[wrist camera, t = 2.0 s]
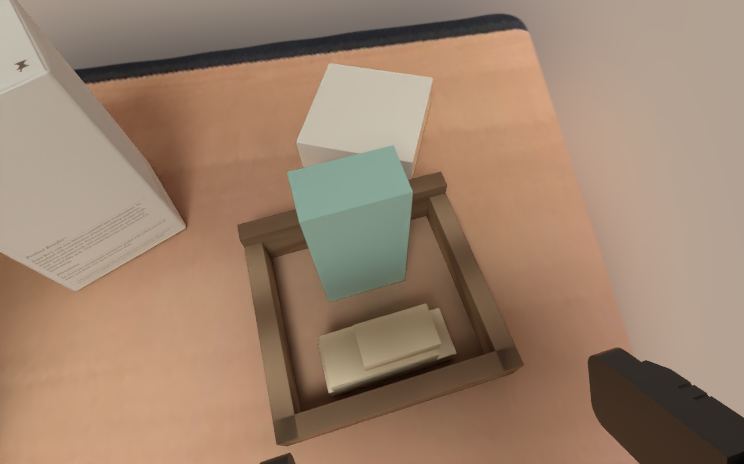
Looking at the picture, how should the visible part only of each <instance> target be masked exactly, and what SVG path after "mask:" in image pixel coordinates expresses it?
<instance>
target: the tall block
mask: <svg viewBox="0 0 744 464" xmlns="http://www.w3.org/2000/svg"><path fill="white" fill-rule="evenodd" d="M287 174H288V178H289V182H290V187H291V191H292V195H293V199H294V203H295V207H296V211H297V215H298V220H299V223H300V226H301V229H302V231H303V234H304V237H305V239H306V242H307V245H308V248H309V250H310V253H311V256H312V258H313V261H314V264H315V267H316V269H317V272H318V275H319V277H320V280H321V283H322V286H323V288H324V291H325V294H326V296H327V299H328V302H331V301H335V300H338V299H342V298H345V297H349V296H352V295H355V294H359V293H362V292H366V291H369V290H373V289H376V288H380V287H383V286H387V285H390V284H394V283H397V282H400V281H404V280H405V271H406V261H407V250H408V239H409V228H410V218H411V207H412V196H413V191H412V189H411V186H410V184H409V181H408V179H407V177H406V174H405V172H404V169H403V167H402V164H401V162H400V160H399V157H398V155H397V152H396V150H395V148H394V145H392V146H388V147H384V148H380V149H376V150H372V151H368V152H364V153H360V154H356V155H352V156H348V157H344V158H340V159H336V160H332V161H328V162H324V163H320V164H316V165H312V166H308V167H304V168H301V169H297V170H293V171H289V172H287Z"/></svg>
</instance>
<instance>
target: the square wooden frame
mask: <svg viewBox="0 0 744 464" xmlns="http://www.w3.org/2000/svg"><path fill="white" fill-rule="evenodd" d="M408 181H409V184H410V186H411V189H412V191H413V196H412V207H411V218H410V220H412V219H416V218H419V217H423V216H427V218H428V220H429V223H430V225H431V228H432V230H433V232H434V235H435V237H436V240H437V242H438V244H439V247H440V249H441V251H442V254H443V256H444V259H445V261H446V263H447V266H448V268H449V271H450V273H451V275H452V278H453V280H454V283H455V285H456V287H457V290H458V292H459V295H460V297H461V299H462V302H463V304H464V307H465V309H466V311H467V314H468V316H469V318H470V321H471V323H472V326H473V328H474V330H475V333H476V335H477V338H478V340H479V342H480V345H481V347H482V350H483V352H484V355H481V356H478V357H475V358H472V359H469V360H465V361H462V362H459V363H456V364H453V365H450V366H446V367H443V368H440V369H437V370H434V371H431V372H427V373H424V374H421V375H418V376H415V377H412V378H408V379H405V380H402V381H399V382H396V383H393V384H389V385H386V386H383V387H380V388H377V389H374V390H370V391H367V392H364V393H361V394H358V395H355V396H351V397H348V398H345V399H342V400H339V401H336V402H332V403H329V404H326V405H323V406H320V407H317V408H313V409H310V410H307V411H304V412H301V409H300V404H299V399H298V394H297V389H296V384H295V379H294V373H293V368H292V363H291V358H290V353H289V348H288V343H287V338H286V332H285V327H284V322H283V317H282V312H281V307H280V302H279V297H278V292H277V286H276V281H275V276H274V271H273V266H272V261H271V258H273V257H277V256H280V255H284V254H288V253H291V252H295V251H299V250H302V249H306V248H308V245H307V242H306V239H305V237H304V234H303V231H302V229H301V226H300V223H299V220H298V215H297V211H296V210H293V211H289V212H285V213H281V214H277V215H274V216H270V217H266V218H262V219H258V220H255V221H251V222H247V223H243V224H239V225H237V226H238V232H239V238H240V241H241V243H242V244H243V246H244V248H245V254H246V260H247V266H248V272H249V278H250V284H251V291H252V297H253V303H254V309H255V315H256V321H257V327H258V333H259V339H260V346H261V352H262V358H263V364H264V370H265V376H266V382H267V388H268V395H269V401H270V407H271V413H272V419H273V425H274V431H275V437H276V444H277V445H281V446H289V445H292V444H295V443H298V442H301V441H304V440H308V439H311V438H314V437H317V436H320V435H323V434H326V433H329V432H332V431H335V430H338V429H342V428H345V427H348V426H351V425H354V424H357V423H360V422H363V421H366V420H369V419H372V418H376V417H379V416H382V415H385V414H388V413H391V412H394V411H397V410H400V409H403V408H406V407H410V406H413V405H416V404H419V403H422V402H425V401H428V400H431V399H434V398H437V397H440V396H444V395H447V394H450V393H453V392H456V391H459V390H462V389H465V388H468V387H471V386H475V385H478V384H481V383H484V382H487V381H490V380H493V379H496V378H499V377H502V376H505V375H509V374H512V373H514V372H515V371H516V370H518V369H519V368H521V367H522V366H523V365H524V364H523V362H522V360H521V358H520V355H519V353H518V351H517V349H516V347H515V344H514V342H513V340H512V338H511V336H510V333H509V331H508V329H507V327H506V325H505V323H504V320H503V318H502V316H501V314H500V312H499V309H498V307H497V305H496V303H495V301H494V299H493V296H492V294H491V292H490V290H489V288H488V285H487V283H486V281H485V279H484V277H483V274H482V272H481V270H480V268H479V266H478V264H477V261H476V259H475V257H474V255H473V253H472V250H471V248H470V246H469V244H468V242H467V240H466V237H465V235H464V233H463V231H462V229H461V226H460V224H459V222H458V220H457V218H456V215H455V213H454V211H453V209H452V207H451V205H450V202H449V200H448V198H447V196H446V194H445V192H446V187H447V184H446V182H445V180H444V177H443V175H442V173H441V172H438V173H434V174H430V175H426V176H422V177H418V178H415V179H411V180H408Z"/></svg>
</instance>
